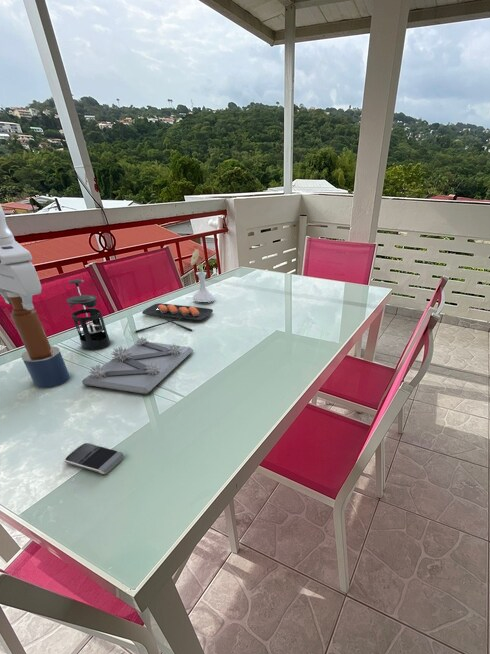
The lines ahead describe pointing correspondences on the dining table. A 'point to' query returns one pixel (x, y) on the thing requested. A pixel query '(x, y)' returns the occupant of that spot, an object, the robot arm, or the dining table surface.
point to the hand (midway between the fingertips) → (20, 306)
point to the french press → (91, 330)
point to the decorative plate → (138, 366)
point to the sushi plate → (176, 313)
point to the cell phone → (94, 458)
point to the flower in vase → (201, 283)
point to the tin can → (47, 369)
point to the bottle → (29, 327)
